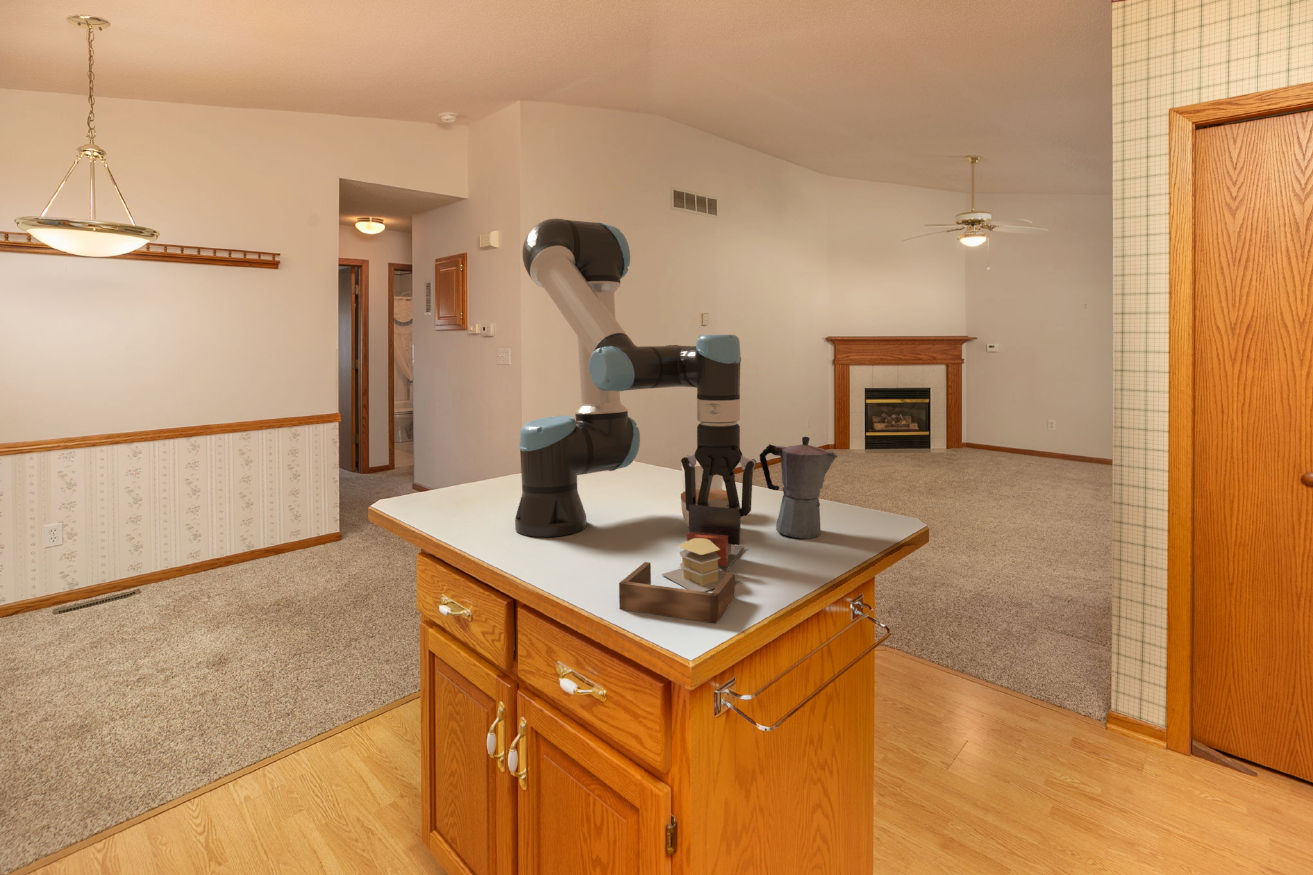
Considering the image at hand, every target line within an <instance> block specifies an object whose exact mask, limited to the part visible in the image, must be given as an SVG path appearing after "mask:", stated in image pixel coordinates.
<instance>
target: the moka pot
mask: <svg viewBox="0 0 1313 875" xmlns="http://www.w3.org/2000/svg"><path fill="white" fill-rule="evenodd" d="M801 440H802V444H798V445H788V446H780V445H779V446H778V445H777V446H776V445H773V444H768V445H767V446H766V447H765V449H763V450H762V451H761V453H760V454H759V462H760V464H761V469H762V470H763V476H764V480H765V482H766V486H767V489H769V490H773V491H777V492H778V491H779V489H780V486H779V485H774V484H773V481H772V478H771V474H770V470H769V466H768V460H767V457H766V456H768V455H769V454H772V455H773V456H777V457H780V464H781V465H780V466H781V484H782V485H783V487H782V491H783V494H782V498H781V502H780V508H779V511H778V516H777V522H776V525H775V530H776V531H777V532H778V533H779V534H781V535H784V536H786V537H790V538H798V539H813V538H814V539H815V538H816V537H819V536H820V534H821V513H820V512H821V511H820V506H821V503H820V498H819V497H820V493H821V489H822V488H823V486H824V481H825V477H826V474H827V472H828V471H829V469H830V467H832V463H834V460H836V458H838V455H837V454H836V453H834V451H830V450H827V449H824V448H821V447H817V446H813V445H811V444H809V442H810V437H808V436H803V437H801Z"/></svg>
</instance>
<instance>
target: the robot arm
mask: <svg viewBox="0 0 1313 875" xmlns="http://www.w3.org/2000/svg"><path fill="white" fill-rule="evenodd" d="M521 252H522V254H521V255H522V262H523V265H524V266H523V267H524V268H525V270H526V272H527V275H529V277H530V279H531V280H532V281H533V283H534V284H535V285H536V286H538V287H540V288H543V289H544V290H545V291H546V293H547V294H548V296H549V297H550V299H551V300H552V301H553V303H554V304H555V305H556V307H557V309H558V310H559V312H560V313H561V315H562V316H563V318H565V320H566V322H567V323H568V324H569V326H570V328H571V329H572V330H573V332H574V333H575V334H576V336H577V350H578V351H577V352H578V364H579V365H578V367H579V369H578V370H579V383H580V385H579V386H580V398H581V399H580V401H581V404H580V406H579V407H578V408H577V410H576V411H575V414H574V415H575V417H573V416H571V415H555V416H548V417H547V416H546V417H542V418H537V419H535V420H534V419H533V420H530V421H528V422H526V423H525V424H524V425H522V426H521V429H520V432H519V433H520V434H519V444H518V445H519V447H518V448H519V450H520V452H519V453H520V472H521V474H520V475H521V497H520V500H519V504H518V507H517V512H516V514H515V518H514V525H515V526H514V528H515V531H516V532H517V533H518V534H520V535H524V536H529V537H537V538H538V537H540V538H541V537H542V538H545V537H546V538H547V537H548V538H549V537H550V538H552V537H561V536H568V535H572V534H575V533H579V532H580V531H583V530H585V529H586V527H587V513H586V511H585V508H584V505H583V503H582V500H581V497H580V494H579V490H578V476H581V475H588V474H592V473H593V474H594V473H599V472H607V471H609V472H612V471H613V472H614V471H616V470H620V469H623V468H626V467H628V466H629V465H631V464H632V463H633V462H634V460H635V459H636V458H637V455H638V453H639V450H640V446H641V445H640V444H641V434H640V429H639V427H638V426H637V423H636V421H635V420H634V419H633V418H632V417H630V416H629V414H628V413H629V412H628V411H629V410H628V408H627V407H625V406H624V405H623V404H622V402H621V394H620V393H621V392H624V391H632V390H634V391H635V390H642V389H643V390H645V389H661V388H662V389H664V388H665V389H666V388H675V387H677V388H679V387H680V388H681V387H682V388H684V387H685V388H696V389H697V390H696V392H697V393H696V394H697V395H696V411H697V412H696V419H697V421H698V422H699V423H698V424H697V426H696V446H697V447H696V449H695V452H694V454H691V455H686V456H684V457H682V458H681V460H680V464H681V463H682V466H683V468H684V471H685V496H686V510H687V511H689V504H690V503H692V504H696V483H695V467H694V466H695V465H696V460H697V461H698V463H699V464H700V466H701V467H702V468H703V474H702V482H701V487H700V492H699V497H698V502H697V504H706V503H707V501H708V496H709V492H710V487H711V482H712V478H713V475H720V476H723V482H724V486H725V491H726V492H727V497H728V502H729V507H740V508H741V518H743V517H747V516H748V515H749V514H750V512H751V511H752V498H753V497H752V496H753V473H754V471H755V468H756V465H757V459H755V458H752V459H750V458H749V457H748V458H747V457H745V456H744V455H743V452H742V450H741V448H740V447H741V442H740V441H741V439H740V437H741V426H740V425H739V423H738V422H740V420H741V362H742V357H741V347H740V346H741V342H740V338H739V337H738V336H737V335H736V334H701V335H699V336H698V337H697V339H696V345H678V344H673V345H672V344H669V345H662V346H661V345H660V346H659V345H657V346H651V345H648V346H647V345H646V346H644V345H643V346H638V345H636V344H635V343H634V341H633V340H632V339H631V338H630V336H628V334H627V333H626V331H625V330H624V329H623V327H622V326H621V325H620V323H619V322H618V321H617V319H616V304H615V293H616V292H617V290H618V289H619V288H620V287H621V279H623V278H624V277H625V276H626V275H627V273H628V271H629V268H628V267H629V266H630V264H631V251H630V245H629V243H628V240H627V238H626V236H625V234H624V233H623V232H622V231H621V230H620V229H619V228H618V227H616V226H614V225H610V224H605V223H603V222H594V221H593V222H590V221H580V220H571V219H570V220H569V219H564V218H548V219H545V220H543V221H541V222H539V223H537V224H536V225H534V226H533V227H532V228H531V229H530V231H529V232H528V234H527V235H526V237H525V239H524V242H523V244H522V251H521ZM739 464H741V468H740V469H741V470H742V471H743V472H742V483H741V484H742V486H741V487H742V490H741V505H740V499H739V495H738V489H737V485H736V478H735V472H734V471H735V469H736V467H737V466H738V465H739ZM682 466H681V467H682ZM735 546H736V545H732V544H728V554H730V555H731V554H732V553H733V552H734V551H735Z"/></svg>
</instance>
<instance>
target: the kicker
mask: <svg viewBox="0 0 1313 875" xmlns="http://www.w3.org/2000/svg"><path fill="white" fill-rule="evenodd" d="M741 518H742V517H741V506H740V507H729V502H728V501H725V500H712V499H711V500H710V501H708V502H707V503H706V504H692V503H690V504H689V526H688V532H687V533H686V542H687V541H689V540H691V539H694V538H706V539H708V540H710V541H711V542H712V543H713V544H715V545H716V546H717V547H718V548H719V549H720V550H717V551H714V552H715V553H717V554H718V555H719V556H720V559H718V565H722V566H727V565H728V544H732V545H735V546H741V520H742V519H741Z"/></svg>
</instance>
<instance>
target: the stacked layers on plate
mask: <svg viewBox="0 0 1313 875" xmlns="http://www.w3.org/2000/svg"><path fill="white" fill-rule="evenodd" d="M679 548H681V549H683V550H681V551H680V552H679V556H680V557H681V562H680V564H679V568H677V569H674V570H671V571H667V572H664V573H661V575H662V576H664V577H666V578H667V579H669V580H671V581H673V582H674V583H676V584H678V585H680V586H681V587H683V588H684V589H686V590H693V591H701V592H708V591H710V590H712V589H715V588H716V587H717V586H718V585H719V583H720V582H721V581H722V580H723V578H724V577H725V576H726V575H727V573H728V572H725V571H723V570H722V569H721V568H719V567H718V559H720V556H719V555H718V554H717V553H715V552H714V551H717V550H720V549H719V548H718V547H717V546H716V545H715V544H713V543H712V542H711V541H710V540H708V539H706V538H694V539H691V540H689V541H687V540H686V541H685V542H682V543H680V544H679ZM740 580H741V579H739V578H738V577H736V576H735V582H738V581H740Z"/></svg>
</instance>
